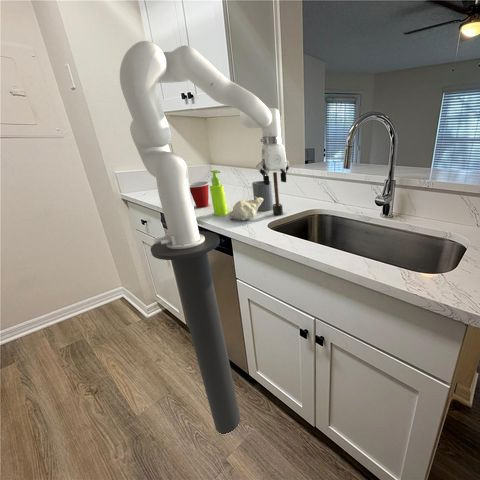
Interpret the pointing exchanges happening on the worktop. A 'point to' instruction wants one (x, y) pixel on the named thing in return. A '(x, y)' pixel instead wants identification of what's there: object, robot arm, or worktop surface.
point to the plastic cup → (200, 193)
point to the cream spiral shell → (245, 209)
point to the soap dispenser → (218, 195)
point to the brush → (276, 198)
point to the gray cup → (263, 195)
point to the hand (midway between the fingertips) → (275, 183)
